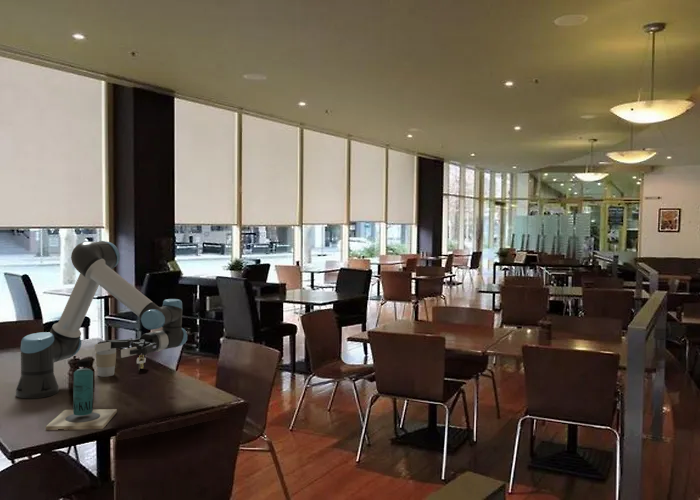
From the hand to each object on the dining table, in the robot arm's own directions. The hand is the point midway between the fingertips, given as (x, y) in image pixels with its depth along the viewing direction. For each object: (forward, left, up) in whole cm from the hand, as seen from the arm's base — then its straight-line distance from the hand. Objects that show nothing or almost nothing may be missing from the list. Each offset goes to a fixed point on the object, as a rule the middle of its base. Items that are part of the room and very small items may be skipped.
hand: (108, 350), depth 220 cm
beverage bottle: (-6, -8, -22) cm, 24 cm away
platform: (-3, +67, -23) cm, 71 cm away
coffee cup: (-16, +57, -23) cm, 64 cm away
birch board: (-6, -8, -23) cm, 25 cm away
